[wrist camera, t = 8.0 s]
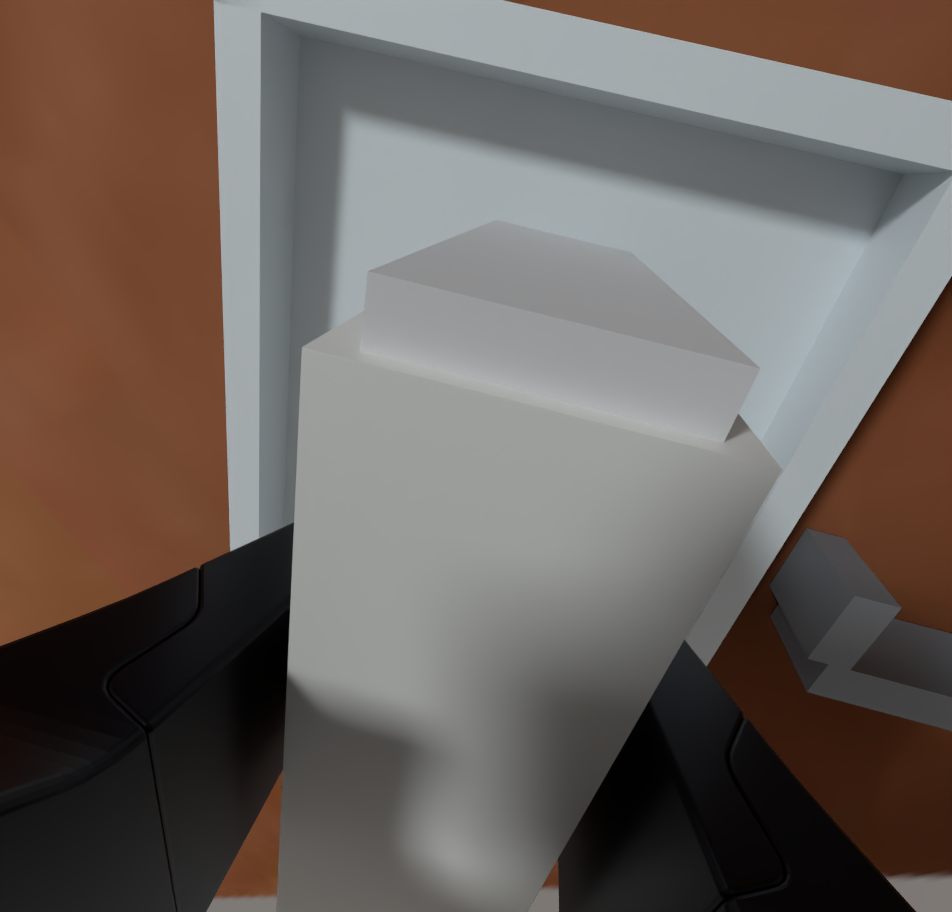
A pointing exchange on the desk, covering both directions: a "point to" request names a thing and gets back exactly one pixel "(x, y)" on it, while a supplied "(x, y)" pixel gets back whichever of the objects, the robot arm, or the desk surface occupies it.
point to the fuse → (494, 560)
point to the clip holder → (858, 635)
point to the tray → (572, 209)
